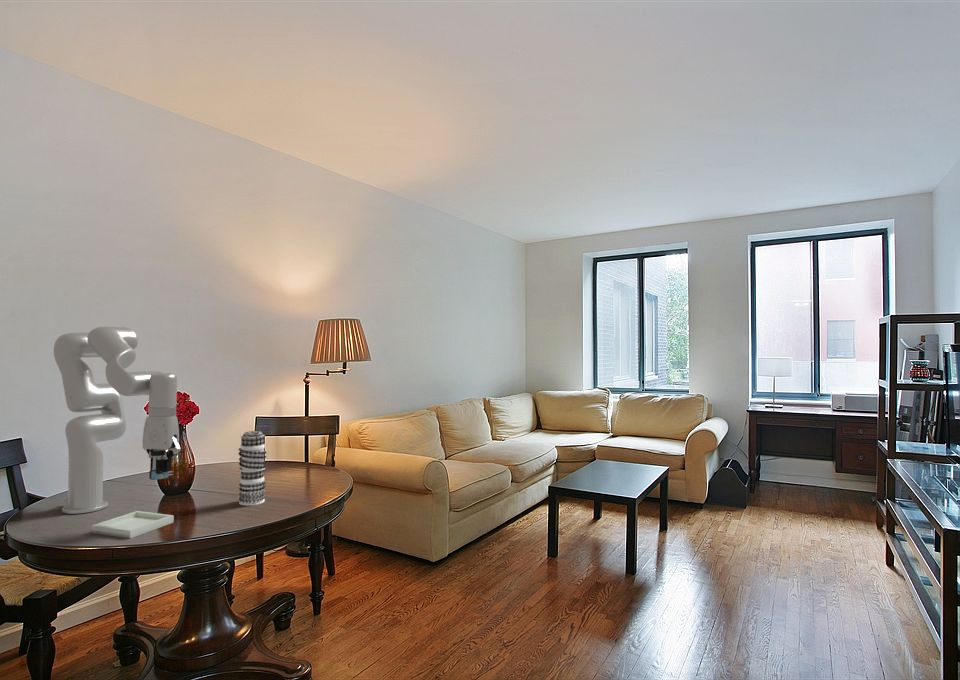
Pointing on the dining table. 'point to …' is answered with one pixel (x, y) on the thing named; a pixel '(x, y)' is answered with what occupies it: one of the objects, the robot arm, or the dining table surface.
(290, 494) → the dining table surface
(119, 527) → the tray
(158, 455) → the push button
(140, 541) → the dining table surface
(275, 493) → the dining table surface
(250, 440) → the decorative candle
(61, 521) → the dining table surface
